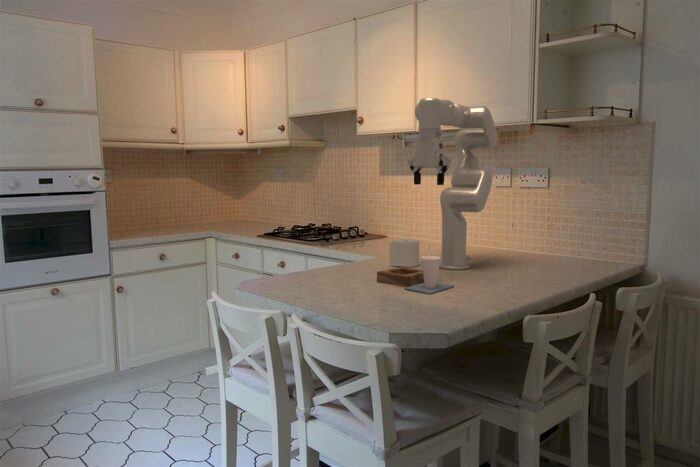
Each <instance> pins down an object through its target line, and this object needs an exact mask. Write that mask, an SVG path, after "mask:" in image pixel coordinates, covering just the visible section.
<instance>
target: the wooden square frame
mask: <svg viewBox="0 0 700 467" xmlns="http://www.w3.org/2000/svg"><path fill="white" fill-rule="evenodd" d="M376 283H381V284H388V285H393V286H398V287H402V288H403V287H404V288H406V287H410V286H413V285H417V284H421V283H424V276H423V269H417V268H416V269H415V268H411V267H400V266H396V267H394V268H393V267H392V268H387V269H383V270H379V271H376Z"/></svg>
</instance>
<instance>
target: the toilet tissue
mask: <svg viewBox="0 0 700 467" xmlns="http://www.w3.org/2000/svg"><path fill="white" fill-rule="evenodd" d="M388 244H389V259H388V260H389V262H388V266H392V267H405V268H411V267H412V268H414V267H418V266H419V265H420V240H418V239H413V238H398V239H397V238H396V239H393V240H392V241H389V243H388Z"/></svg>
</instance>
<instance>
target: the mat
mask: <svg viewBox="0 0 700 467" xmlns="http://www.w3.org/2000/svg"><path fill="white" fill-rule="evenodd" d="M450 288H451V289H453V288H455V285H454V284H448V283H447V284H446V283H443V282H442V283H440V282H437V284H436V287H435V288H426V287H425V285H424V283H421V284H417V285H413V286H410V287H404V288H403V290H405V291H409V292H413V293H418V294H424V295H433V294H436V293H437V294H438V293H439V292H444V291H448V290H450Z"/></svg>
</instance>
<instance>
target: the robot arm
mask: <svg viewBox="0 0 700 467" xmlns="http://www.w3.org/2000/svg"><path fill="white" fill-rule="evenodd" d="M414 116H415V118H416V120H417V121H418V139H417V140H416V143H415V148H414V150H415V151H414V157H412V158H411V159H409V160H408V162H407V163H408V166H409V168H410V170H411V171H412V174H413V184H414V185H416V186H417V185H421V184H422V180H421V179H422V174H421V171H422V169H425V168H427V169H430V168H431V169H432V168H435V169H436V171H437V174H436V186H444V183H445V174H446V173H447V171H448V170H449V169H450V165H451V163H452V160H451V158H450V159H449V158H448V157H446V154H445V145H444V140H443V138H441V135H442V136H443V135H444V131H443V130H441V126H443V127H453V128H458V129H460V130H459V131H456V133H455V136H454V145H455V150H456V155H457V156H456V157H457V162H456V164H455V167H454V170H453V173H452V175H451V178H450V179H451V180H450V185H451V186H450V187H449V186H448V187H446V188H444V189H443V190H442V191H441V193H440V196H439V201H440V208H441V261H440V263H439V269H444V270H452V271H457V270H458V271H459V270H462V271H463V270H468V269H470V268H471V267H470V266H471V265H470V264H469V263H468V262H467V261H470V260H471V258H472V257H471V255H467V233H468V232H467V230H468V226H467V225H468V224H467V220H466V218H465V216H464V215H463V214H462V213H480V212H482V211H483V210H484V209H485V206H486V204H487V202H488V199H489V195H490V192H491V190H492V184H493V173H492V171H491V169H489V168H487V167H483V166H479V160H478V158H477V156H476V155H475V153H473V152H472V151H471V150H489V149H493V148H495V147H496V145H497V143H498V131H497V129H496V126H495V122H494V119H493V115H492V113H491V111H490V110H489V108H488V107H487V106H485V105H476V106H475V105H473V106H464V105H462V104H459V103H454V102H453V101H451V100H449V99H439V97H438V98H437V97H426V98H425V97H424V98H421V99H420V100H419V101H418V103H416V106H415V108H414Z"/></svg>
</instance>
